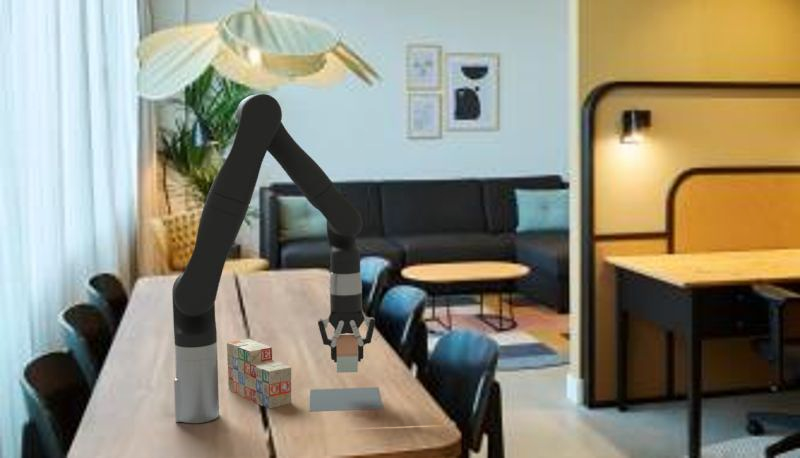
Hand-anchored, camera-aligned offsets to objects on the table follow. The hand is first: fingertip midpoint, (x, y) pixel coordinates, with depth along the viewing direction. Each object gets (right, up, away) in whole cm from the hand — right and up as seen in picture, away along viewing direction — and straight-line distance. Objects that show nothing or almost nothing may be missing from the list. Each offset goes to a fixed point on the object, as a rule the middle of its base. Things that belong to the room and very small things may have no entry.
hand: (347, 360), depth 201 cm
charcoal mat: (-1, -10, +2) cm, 10 cm away
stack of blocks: (-22, -10, +5) cm, 25 cm away
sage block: (0, -1, +4) cm, 5 cm away
